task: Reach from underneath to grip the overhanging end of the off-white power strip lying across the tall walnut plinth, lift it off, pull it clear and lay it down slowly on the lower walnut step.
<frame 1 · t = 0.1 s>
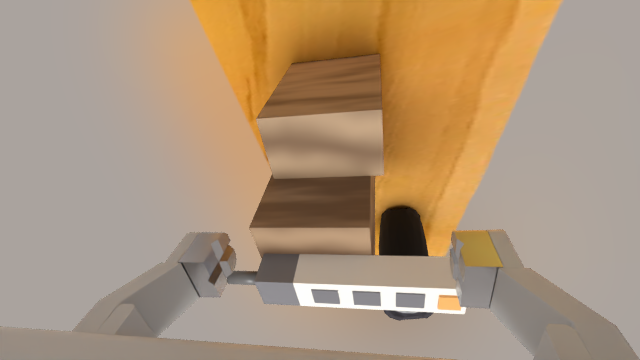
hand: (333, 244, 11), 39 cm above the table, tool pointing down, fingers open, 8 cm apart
portable speaker: (400, 218, 63), on the table
stand: (338, 120, 51), on the table
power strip: (377, 267, 32), point 26 cm above the table, touching stand
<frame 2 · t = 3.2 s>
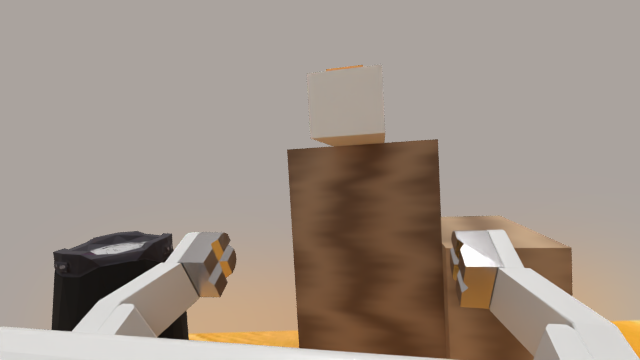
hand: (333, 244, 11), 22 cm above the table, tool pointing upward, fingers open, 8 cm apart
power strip: (358, 144, 24), point 26 cm above the table, touching stand
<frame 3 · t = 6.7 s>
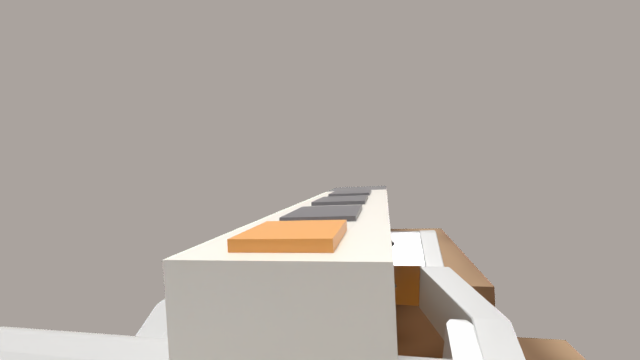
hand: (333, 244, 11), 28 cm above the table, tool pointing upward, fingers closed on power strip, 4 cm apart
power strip: (342, 287, 13), point 26 cm above the table, touching gripper, stand
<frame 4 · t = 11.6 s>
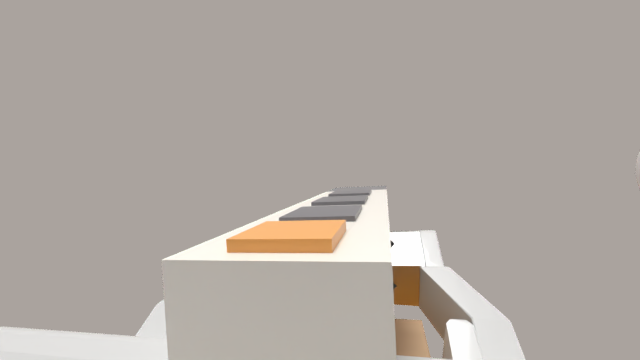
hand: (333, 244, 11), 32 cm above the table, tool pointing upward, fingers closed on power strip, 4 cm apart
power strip: (342, 287, 13), point 30 cm above the table, touching gripper
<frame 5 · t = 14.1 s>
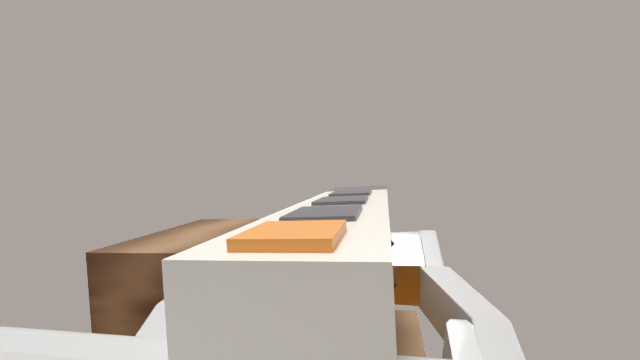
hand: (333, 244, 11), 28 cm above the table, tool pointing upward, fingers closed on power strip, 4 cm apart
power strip: (343, 287, 13), point 25 cm above the table, touching gripper
when the fingers open (22 cm above the table, at t = 16.5 s): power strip drops 2 cm, resting on stand.
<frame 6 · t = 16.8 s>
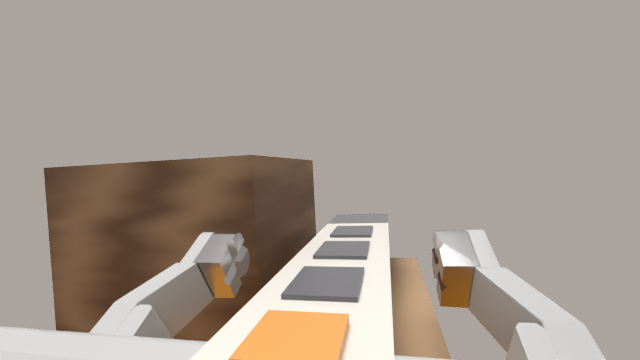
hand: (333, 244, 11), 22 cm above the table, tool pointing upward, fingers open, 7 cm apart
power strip: (344, 340, 13), point 18 cm above the table, touching stand
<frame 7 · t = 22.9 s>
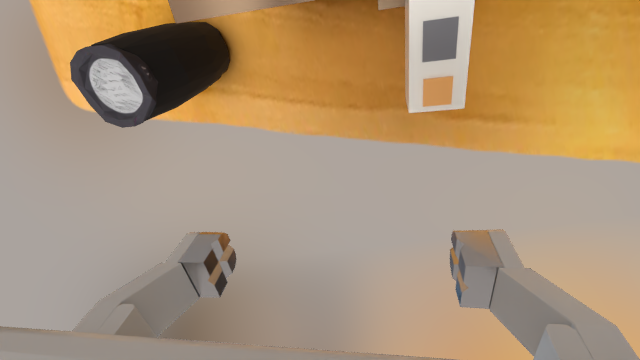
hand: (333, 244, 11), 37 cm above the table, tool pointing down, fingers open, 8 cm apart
portable speaker: (206, 50, 46), on the table
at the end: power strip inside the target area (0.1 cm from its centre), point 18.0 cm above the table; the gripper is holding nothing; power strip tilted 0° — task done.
